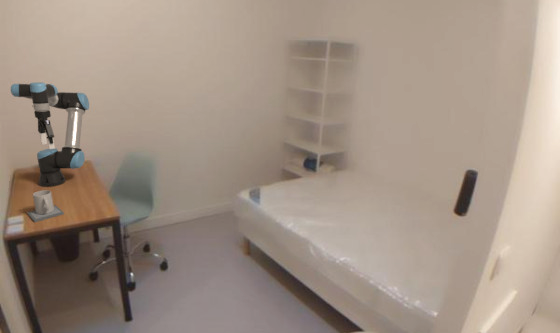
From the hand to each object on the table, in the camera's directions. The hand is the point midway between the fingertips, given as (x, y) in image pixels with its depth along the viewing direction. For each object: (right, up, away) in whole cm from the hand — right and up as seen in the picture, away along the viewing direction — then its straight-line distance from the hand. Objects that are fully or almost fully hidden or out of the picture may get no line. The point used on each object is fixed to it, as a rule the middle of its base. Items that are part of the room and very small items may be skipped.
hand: (48, 146), depth 204 cm
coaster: (+6, -39, -11) cm, 41 cm away
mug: (+7, -38, -12) cm, 40 cm away
